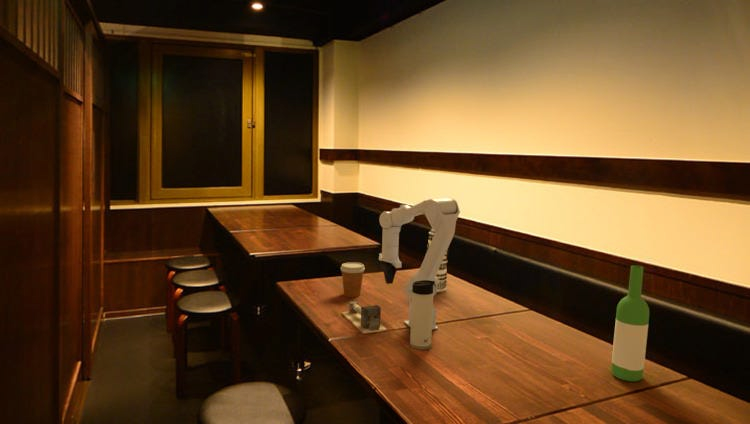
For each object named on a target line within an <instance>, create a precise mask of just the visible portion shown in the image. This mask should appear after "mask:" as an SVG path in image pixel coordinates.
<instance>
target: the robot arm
mask: <svg viewBox="0 0 750 424" xmlns="http://www.w3.org/2000/svg"><path fill="white" fill-rule="evenodd" d="M460 213H461V211H460V208H459V204H458V202H457V200H456V199H454V198H453V197H447V198H437V199H431V198H429V199H427V200H423V201H421V202H419V203H417V204H414V205H412V206H410V205H406V204H400V205H399V207H397V208H392V209H391V211H385V210H384V211H383V212H382V213H381V214H380V215H379V217H378V219H379V225H380V226H381V228H382V235H381V237H382V244H381V245H382V246H381V252H380V253H378V255H379V256H378V260H379V261H380V262H381V263H379V265H380V267H381V270H382V271H383V272H382V273H383V276H384V281H385V284H387V285H389V284H392V285H393V283H394V279H395V276H396V274H397V272H398V270H399V269H401V268H402V261H401V260H400V259H399V243H400V241H399V239H400V233H401V229H402V226H403V225H405V224H408V223H410V222H413V221H414V219H415V217H417V216H420V215H422V216H425V217H426V219H427V221H428V223H429V225H430V226H431V229H434V230H435V234H434V237H433V239H432V241H431V244H430V246H429V248H428V251H427V250H426V253H425V256H424V258H423V261H422V263H421V265H420V267H419V270H418V271H417V272H415V273H414V274H413V275H412V276H410V279H409V280H408V281H406V283H405V285H404V293H405V296H406V298H407V300H409V307H408V308H409V309H408V320H404V321H403V323H404V324H406V325H407V326H408V327H409V328H411V307H412V289H413V288H412V285H413V283H414V282H416V281H421V280H430V281H435V285H434V284H433V297H434V296H435V295H436V294H437V293H438V292H437V285H438V282H439V280H438V278H437V277H436V273H437V271H438V269H439V267H440V265H441V262H442V260H443V258H444V256H445V253H446V251H447V250H448V249H449V248H450V245H451V242H452V240H453V238H454V236H455V232H456V224H457V220H458V218H459V215H460ZM436 322H437V309H436V307H435V306H434V305H433V313H432V331H433V330H437V329H438V326H437V323H436Z"/></svg>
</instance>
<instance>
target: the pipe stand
mask: <svg viewBox="0 0 750 424" xmlns="http://www.w3.org/2000/svg"><path fill="white" fill-rule="evenodd" d="M361 307H362V306H360V305H359V302H358V301H356V300H355V301H349V302H348V311H343V312H341V315H342V316H344V318H345V319H347V320H348V321H349V322H350V323H351V324H352V325H353V326H354V327H355V328H356V329H358V330H359V332H361V333H362V334H372V333H379V332H386V331H387V327H385V326H383V325H382V324H381V323H380V326H379V319H378V318H374V317H373V316H369V317H368V323H369V328H364V327H362V326H361Z"/></svg>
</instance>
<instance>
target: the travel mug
mask: <svg viewBox="0 0 750 424" xmlns="http://www.w3.org/2000/svg"><path fill="white" fill-rule="evenodd" d="M433 284H434V285H435V281H430V280H421V281H416V282H414V283H413V285H412V288H413V289H412V307H411V327H410V334H409V335H410V337H409V338H410V340H409V341H410V342H409V346H410V347H411V348H412V349H415V350H418V351H420V350H421V351H424V350H429V349H431V347H432V333H433V332H432V331H433V330H432V313H433V306H434V296H433Z"/></svg>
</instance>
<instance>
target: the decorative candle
mask: <svg viewBox="0 0 750 424" xmlns="http://www.w3.org/2000/svg"><path fill="white" fill-rule="evenodd" d="M434 234H435V230H434V229H432V228H431V229H430V231H429V232H428V241H427V242H428V243H427V244H426V248H427V249H426V252H427V251H428V248H429V246H430V244H431V241H432V239H433V237H434ZM449 252H450V251H449V250H448V249H447V251H446V253H445V256H444V258H443V260H442V262H441V265H440V267H439V269H438V271H437V273H436V277H437V278H438V280H439V282H438V285H437V292H436V293H438V292H439V293H440V292H445V291H447V286H448V285H447V282H448V281H447V278H448V276H447V275H448V272H447V263H448V261H449V260H448V256H449Z"/></svg>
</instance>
